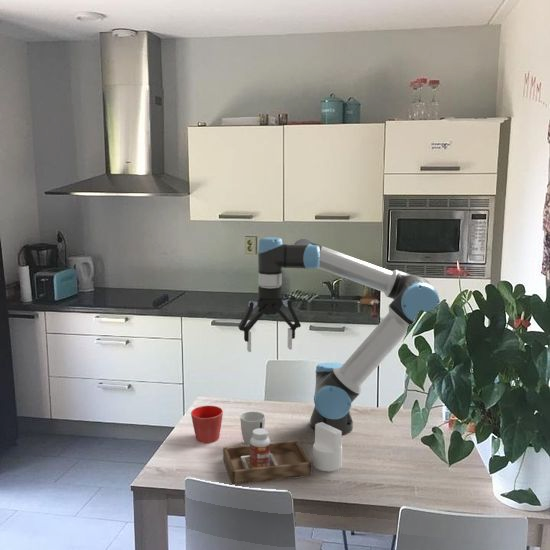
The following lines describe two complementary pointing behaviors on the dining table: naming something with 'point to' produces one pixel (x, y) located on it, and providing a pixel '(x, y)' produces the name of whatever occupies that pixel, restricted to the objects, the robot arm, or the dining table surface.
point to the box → (283, 465)
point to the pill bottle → (259, 448)
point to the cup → (251, 424)
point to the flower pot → (207, 423)
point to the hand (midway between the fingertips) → (269, 349)
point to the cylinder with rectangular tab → (327, 448)
